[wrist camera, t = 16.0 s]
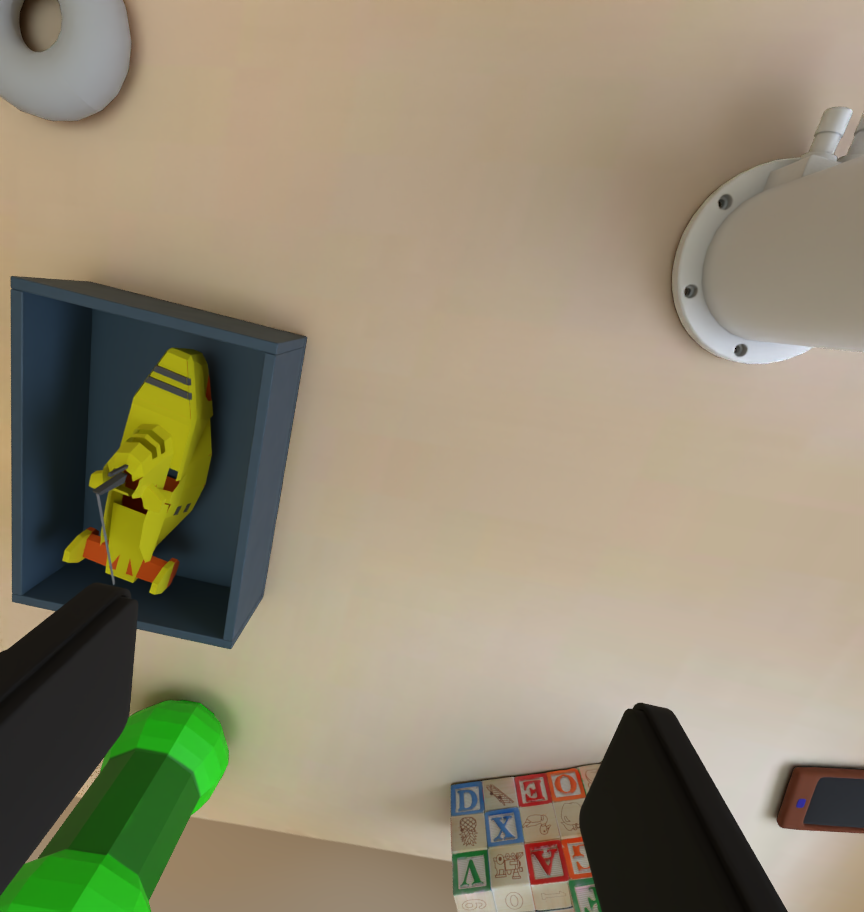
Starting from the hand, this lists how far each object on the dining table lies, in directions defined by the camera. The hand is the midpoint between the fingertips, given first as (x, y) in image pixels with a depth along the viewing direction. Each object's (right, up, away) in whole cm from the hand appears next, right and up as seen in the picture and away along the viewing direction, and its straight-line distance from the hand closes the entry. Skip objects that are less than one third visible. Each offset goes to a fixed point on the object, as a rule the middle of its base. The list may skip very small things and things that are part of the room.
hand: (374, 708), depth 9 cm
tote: (-18, +5, +28) cm, 34 cm away
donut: (-22, +31, +21) cm, 43 cm away
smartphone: (+42, -27, +37) cm, 62 cm away
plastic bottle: (-21, -20, +36) cm, 47 cm away
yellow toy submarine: (-18, +5, +28) cm, 34 cm away
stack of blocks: (+14, -27, +38) cm, 49 cm away
